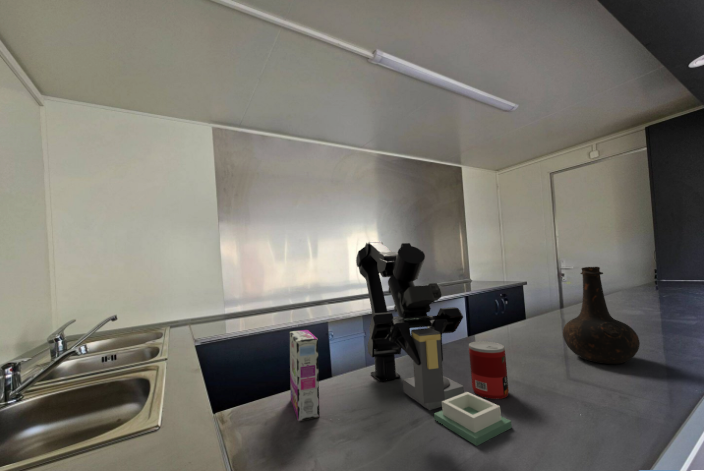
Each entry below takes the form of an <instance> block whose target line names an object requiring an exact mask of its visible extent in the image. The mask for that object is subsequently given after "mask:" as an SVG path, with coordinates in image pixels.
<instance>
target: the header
mask: <svg viewBox="0 0 704 471" xmlns="http://www.w3.org/2000/svg"><path fill="white" fill-rule="evenodd" d="M441 408H442V410H439V411H437V412H435V413H433V420H434V419H435V420H436V421H435V420H434V421H435V422H437V421H438V422H437V423H438V424H440V423H441V425H442V424H443V425H442V426H444V427H446V428H447V429H448V430H450V431H452V432H453V433H455V434H457V435H458V436H460V437H462V438H463V439H465V440H466V441H469V442H470V444H473V445H475V446H476V447H477V446H480V445H481V444H484V443H485V442H487V441H489V440H491V439H493V438H495V437H497V436H498V435H500V434H503V433H504V432H506V431H508V430H510V429H511V428H512V427H513V426H512V424H513V423H512V420H510V419H507V418H506V417H504V416H502V413H501V406H500V405H499V404H495V403H494V402H491V401H489V400H487V399H486V398H485V399H484V398H483V397H481V396H479V395H477V394H476V395H475V394H473V393H471V392H468V391H464V393H463V394H460V395H458V396H455V397H452V398H450V399H447V400H445V401H442V407H441Z"/></svg>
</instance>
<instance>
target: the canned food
mask: <svg viewBox="0 0 704 471" xmlns="http://www.w3.org/2000/svg"><path fill="white" fill-rule="evenodd" d="M468 352H469V354H468V356H469V364H470V366H469V367H470V376H471V377H470V378H471V387H472V390H473V392H474V393H475V394H476V395H477V394H478V395H477V396H479V395H480V396H479V397H481V398H485V397H486V398H485V399H489V398H490V399H491V400H502V399H505V398H506V397H508V396H509V381H508V371H507V370H508V368H507V358H506V350H505V346H504V345H503V344H501V343H497V342H494V341H485V340H484V341H483V340H481V341H479V340H478V341H472V342H470V343H468Z"/></svg>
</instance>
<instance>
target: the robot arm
mask: <svg viewBox="0 0 704 471" xmlns="http://www.w3.org/2000/svg"><path fill="white" fill-rule="evenodd" d="M425 258H426V255H425V253H424V251H422V250H421V249H419V248H418V247H416V246H412V245H411V243H410V242H406V243H405V242H402V243H401V245H400V248H398V251H397V252H396V251H392V250H391V249H389V248H388V247H387V246H386V245H384V243H383V242H382V241H368V242H365V245H364V247H361V249H360V250H358V252H357V255H356V258H355V259H356V260H355V261H356V267H357V268H358V271H359V274H360V275H361V276H362V277H363V278H364V279H365V282H366V283H365V284H366V287H367V293H368V299H369V302H370V308H371V313H372V316H371V320H370V324H369V329H368V330H369V336H368V341H367V353H368V354H369V355H370V356H371V358H374V371H371V372H370V375H371V376H372V377H374V378H375V379H376V380H378V381H379V382H382V383H383V382H386V381H391V380H395V379H400V378H401V376H402V375H401V374H399V373H397V371H396V359H395V358H396V357H395V356H396V355H401V354H402V353H401V352H402V350H403V351H404V352H405V353H406V354H407V355H408V357H409V358H410V359H411V360H412V362H413V361H414V362H415V363H416V364H417V365H420V363H421V362H420V358H419V354H418V351H417V349H416V346H415V344H414V341H413V339H412V337H411V330H410V329H419V328H431V329H434V330H436V331H438V332H440V336H441V340H440V341H441V355H442V362H443V361H444V353H443V351H444V350H443V334H450V333H455V332H456V331H457V329H458V327H459V326H460V324H461V322H462V320H463V319H464V315H463V314H462V311H461V310H460V309H459V308H458V307H455V306H451V307H440V308H439V309H438V312H437V314H436V315H428V314H427V313H430V311H431V309H432V308H431V306H430V305H431V304H432V303H435V302H436V301H438V300H440V299H441V298H442V296H443V295H442V291H441V288H440V286H439V285H438V283H436V282H435V283H434V282H432V283H428V284H427V285H415V283H414V281H416V280H418V278H419V276H420V273H421V271H422V267H423V264H424V262H425ZM381 278H388V280H387V285H388V293H389V294H391V297H392V300H393V303H394V307H393V309H394V312H396V313H397V316H394V315H393V313H392V312H391V311H390V312H389V311H388V307H387V302H386V299H385V295H384V289H383V285H382V282H381Z"/></svg>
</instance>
